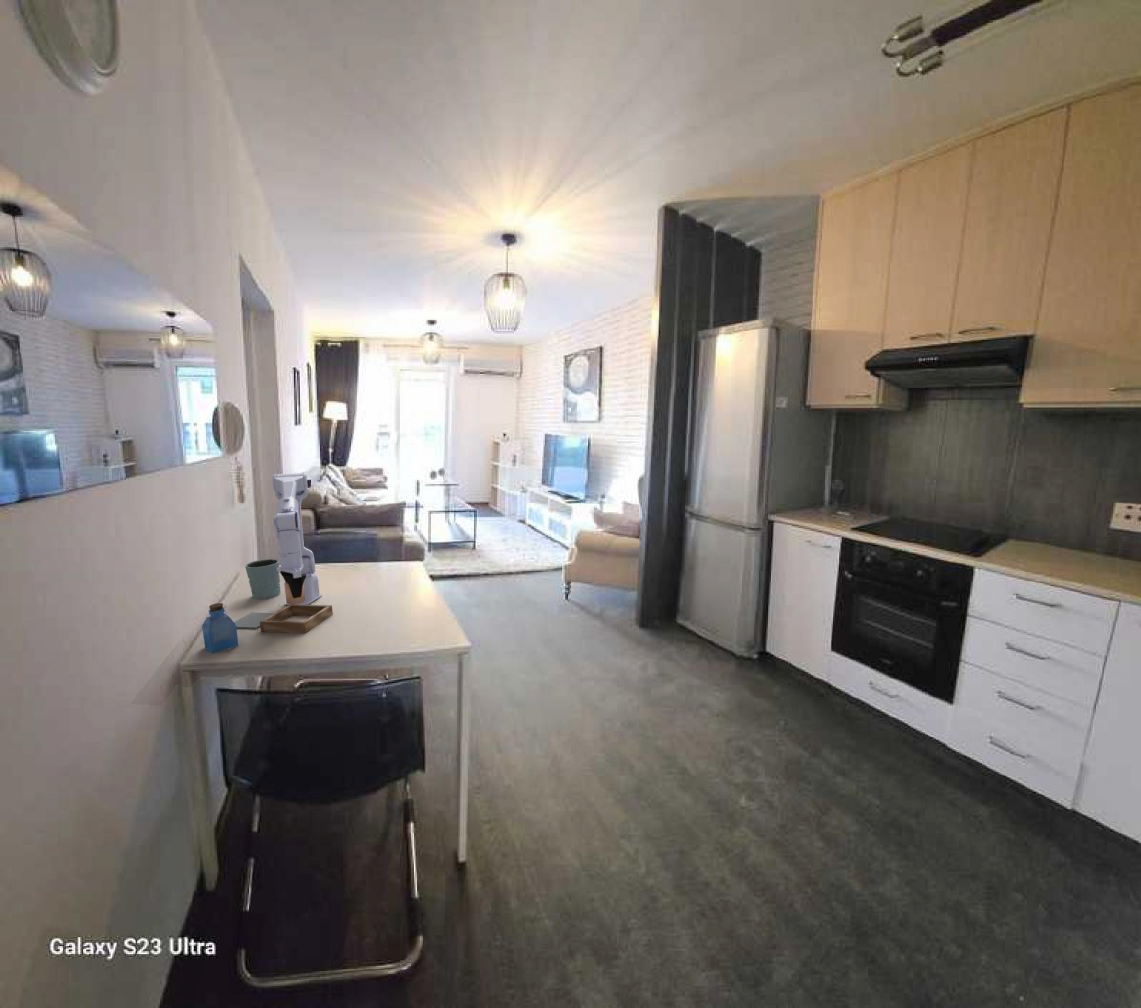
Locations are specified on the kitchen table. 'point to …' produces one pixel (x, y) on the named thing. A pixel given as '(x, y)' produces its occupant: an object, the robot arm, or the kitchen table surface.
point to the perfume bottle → (219, 630)
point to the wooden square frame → (277, 625)
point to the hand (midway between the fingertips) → (295, 594)
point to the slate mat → (251, 620)
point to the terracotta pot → (290, 598)
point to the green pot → (264, 578)
